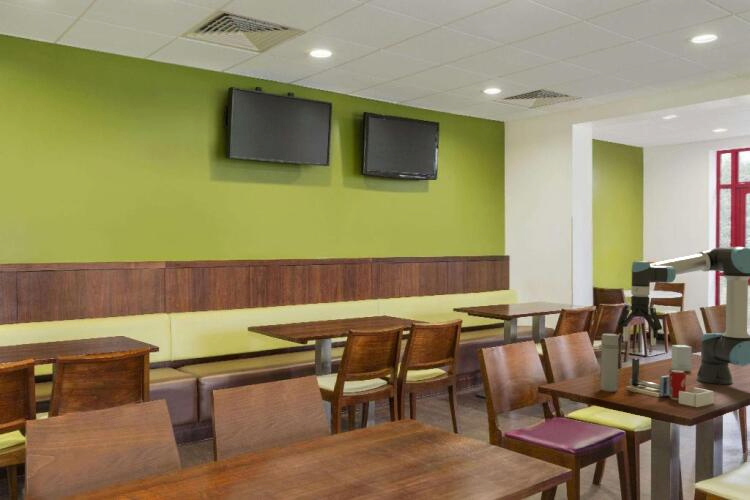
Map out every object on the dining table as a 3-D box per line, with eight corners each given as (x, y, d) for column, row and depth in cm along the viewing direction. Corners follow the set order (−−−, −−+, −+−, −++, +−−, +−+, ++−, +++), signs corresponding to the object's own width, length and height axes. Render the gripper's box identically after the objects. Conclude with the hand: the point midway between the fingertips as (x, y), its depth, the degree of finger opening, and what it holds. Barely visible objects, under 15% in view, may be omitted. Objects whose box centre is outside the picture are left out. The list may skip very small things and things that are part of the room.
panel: (636, 387, 296) (636, 383, 296) (669, 394, 283) (669, 390, 283) (625, 389, 292) (625, 385, 292) (658, 397, 278) (658, 392, 278)
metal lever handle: (625, 387, 292) (626, 358, 292) (634, 385, 296) (635, 357, 296) (663, 396, 277) (663, 365, 277) (672, 394, 281) (673, 363, 281)
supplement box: (691, 371, 336) (692, 347, 336) (677, 371, 336) (677, 346, 336) (685, 368, 343) (685, 344, 343) (670, 368, 343) (671, 344, 343)
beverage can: (687, 401, 272) (687, 372, 272) (671, 400, 273) (671, 371, 273) (683, 397, 278) (683, 369, 278) (667, 396, 279) (667, 369, 279)
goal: (695, 399, 276) (695, 387, 276) (713, 403, 269) (713, 391, 269) (678, 403, 269) (678, 391, 269) (697, 407, 262) (697, 394, 262)
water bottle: (618, 389, 292) (619, 334, 292) (617, 393, 285) (618, 336, 285) (597, 387, 296) (598, 332, 296) (595, 390, 289) (596, 334, 289)
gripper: (610, 293, 298) (609, 340, 299) (661, 298, 278) (660, 347, 278) (620, 293, 303) (619, 338, 303) (671, 297, 282) (670, 346, 282)
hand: (639, 343), depth 291 cm, fingers open, 13 cm apart
